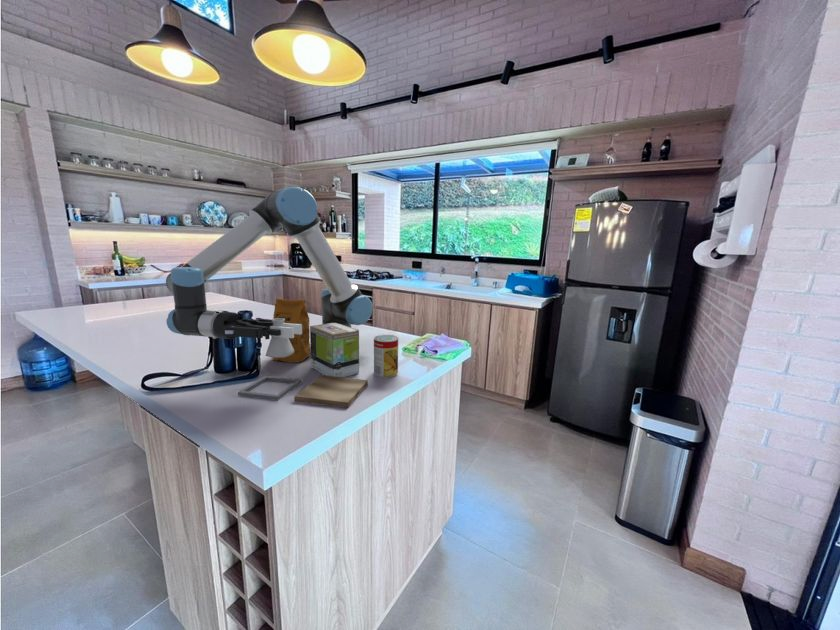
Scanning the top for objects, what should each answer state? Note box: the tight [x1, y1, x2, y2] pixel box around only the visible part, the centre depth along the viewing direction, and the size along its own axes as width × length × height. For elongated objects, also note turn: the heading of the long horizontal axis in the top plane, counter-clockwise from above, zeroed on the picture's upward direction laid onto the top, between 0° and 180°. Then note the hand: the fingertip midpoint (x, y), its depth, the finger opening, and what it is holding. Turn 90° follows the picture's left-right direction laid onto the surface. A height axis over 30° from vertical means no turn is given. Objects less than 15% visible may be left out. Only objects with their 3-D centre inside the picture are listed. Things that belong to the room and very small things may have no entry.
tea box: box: [309, 323, 360, 378], centre depth 108 cm, size 15×10×15 cm, turn 44°
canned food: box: [373, 334, 399, 378], centre depth 108 cm, size 8×8×12 cm
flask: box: [265, 318, 294, 359], centre depth 90 cm, size 7×7×10 cm
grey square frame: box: [237, 375, 303, 401], centre depth 94 cm, size 12×12×1 cm
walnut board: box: [294, 374, 369, 409], centre depth 93 cm, size 15×15×2 cm
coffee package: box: [272, 297, 311, 363], centre depth 118 cm, size 10×12×22 cm
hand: (297, 331), depth 89 cm, fingers closed on flask, 3 cm apart
